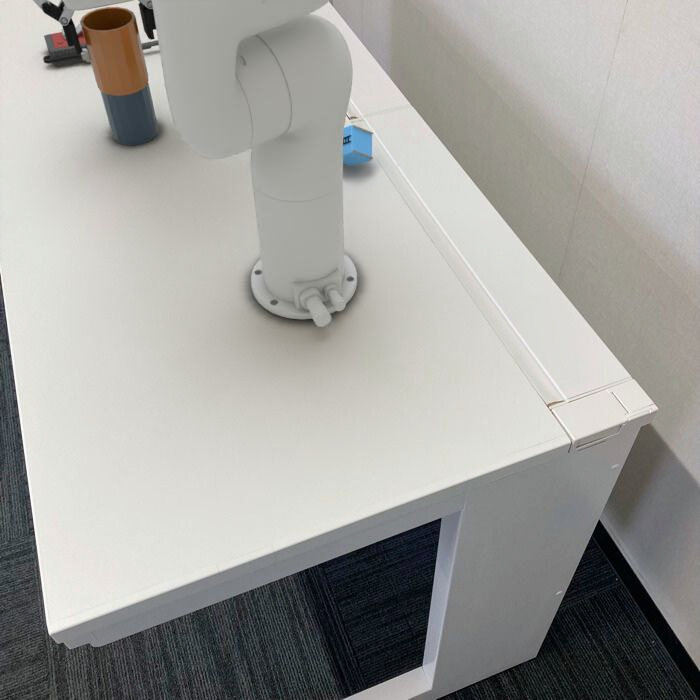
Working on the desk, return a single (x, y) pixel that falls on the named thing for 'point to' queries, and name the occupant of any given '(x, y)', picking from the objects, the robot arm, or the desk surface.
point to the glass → (115, 50)
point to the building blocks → (356, 145)
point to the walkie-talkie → (72, 49)
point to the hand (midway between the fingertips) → (114, 42)
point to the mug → (131, 117)
